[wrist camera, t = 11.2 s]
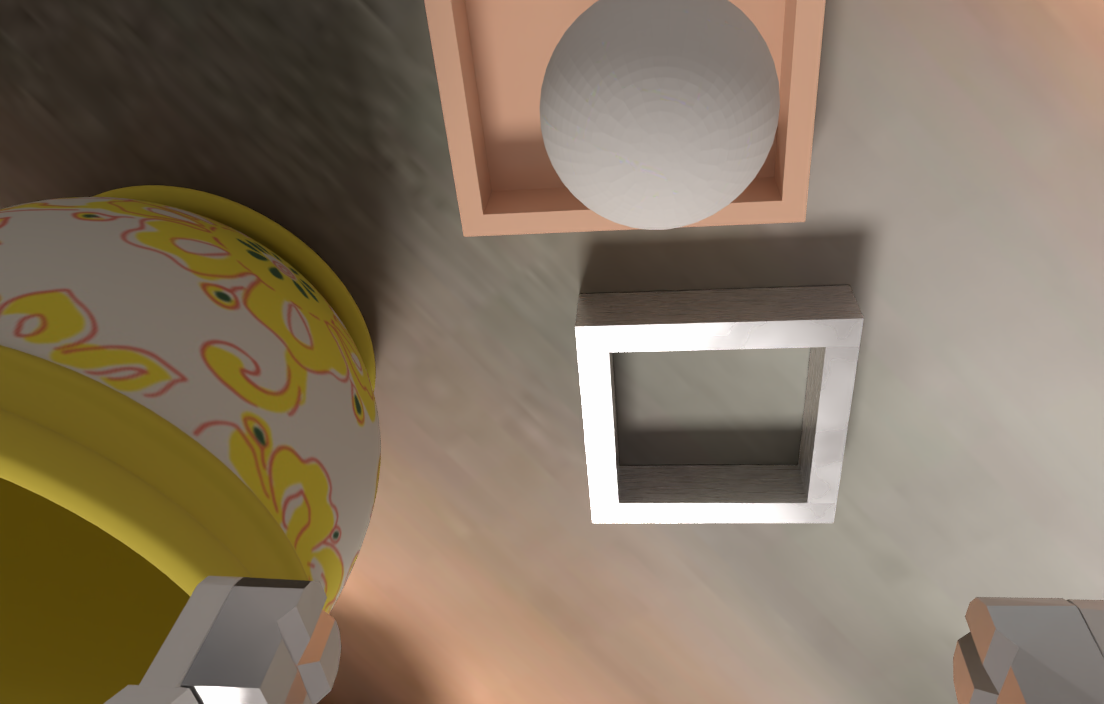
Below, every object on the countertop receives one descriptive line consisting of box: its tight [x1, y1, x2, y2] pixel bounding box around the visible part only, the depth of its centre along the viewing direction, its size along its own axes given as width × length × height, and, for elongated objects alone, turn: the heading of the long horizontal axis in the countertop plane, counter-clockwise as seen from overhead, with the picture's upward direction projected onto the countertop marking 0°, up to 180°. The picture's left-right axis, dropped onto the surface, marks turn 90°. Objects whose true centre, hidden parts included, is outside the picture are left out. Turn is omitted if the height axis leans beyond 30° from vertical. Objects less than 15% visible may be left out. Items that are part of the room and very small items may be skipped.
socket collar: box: [575, 285, 864, 523], centre depth 33 cm, size 10×10×2 cm
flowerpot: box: [0, 185, 381, 704], centre depth 28 cm, size 18×18×16 cm
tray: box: [424, 0, 826, 237], centre depth 25 cm, size 12×12×3 cm
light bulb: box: [540, 0, 780, 230], centre depth 22 cm, size 6×6×10 cm
